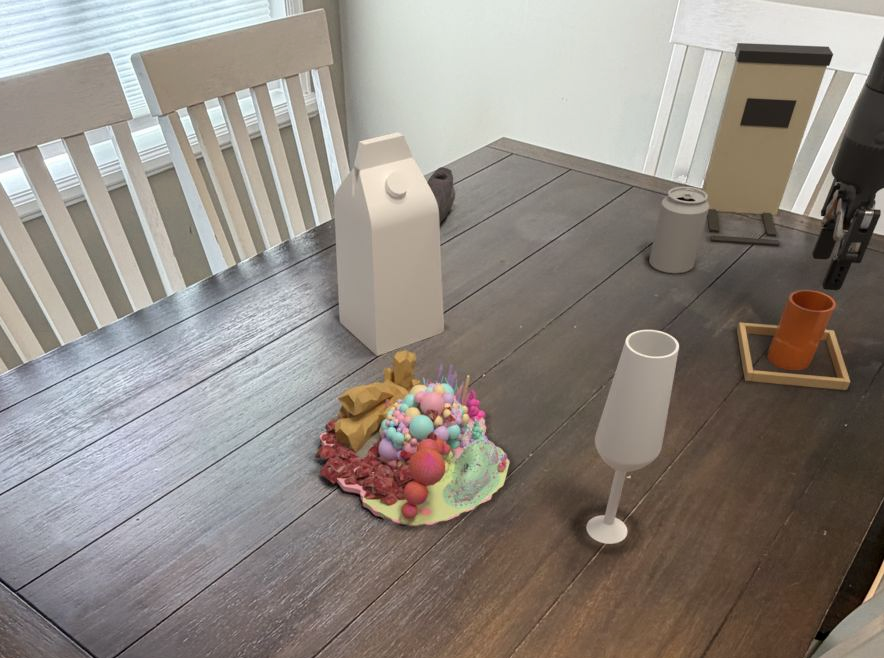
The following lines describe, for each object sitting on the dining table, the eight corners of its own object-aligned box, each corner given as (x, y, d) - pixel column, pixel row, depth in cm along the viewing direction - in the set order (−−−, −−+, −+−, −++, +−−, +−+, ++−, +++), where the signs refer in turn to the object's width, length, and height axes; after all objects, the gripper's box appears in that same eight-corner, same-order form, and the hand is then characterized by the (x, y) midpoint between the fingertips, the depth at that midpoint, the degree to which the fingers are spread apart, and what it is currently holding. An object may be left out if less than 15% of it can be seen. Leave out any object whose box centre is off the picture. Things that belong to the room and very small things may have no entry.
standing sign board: (774, 209, 140) (828, 46, 120) (786, 251, 129) (848, 79, 109) (696, 204, 142) (737, 42, 122) (701, 245, 131) (747, 74, 111)
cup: (806, 350, 107) (832, 291, 100) (812, 373, 104) (839, 313, 97) (764, 346, 108) (786, 288, 101) (769, 369, 104) (792, 309, 97)
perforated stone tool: (438, 239, 133) (438, 198, 127) (410, 235, 134) (409, 195, 128) (459, 205, 142) (459, 166, 137) (433, 202, 143) (432, 163, 138)
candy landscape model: (282, 461, 92) (269, 399, 85) (404, 379, 104) (402, 319, 97) (434, 552, 82) (433, 490, 75) (551, 450, 94) (560, 388, 87)
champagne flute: (647, 533, 84) (705, 343, 65) (612, 564, 81) (663, 373, 62) (599, 505, 87) (642, 316, 69) (564, 533, 84) (599, 344, 66)
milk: (404, 300, 118) (398, 116, 98) (444, 332, 112) (445, 142, 92) (339, 322, 114) (318, 134, 94) (376, 356, 108) (363, 162, 88)
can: (643, 273, 124) (660, 198, 115) (652, 254, 128) (668, 180, 119) (688, 281, 122) (708, 205, 113) (695, 261, 126) (715, 187, 117)
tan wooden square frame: (828, 342, 110) (834, 330, 108) (844, 394, 101) (850, 381, 100) (735, 334, 111) (739, 322, 110) (743, 385, 103) (747, 372, 101)
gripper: (931, 158, 79) (865, 302, 91) (901, 113, 88) (845, 250, 100) (858, 155, 80) (802, 297, 92) (836, 111, 88) (788, 246, 101)
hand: (825, 272), depth 96 cm, fingers open, 8 cm apart
